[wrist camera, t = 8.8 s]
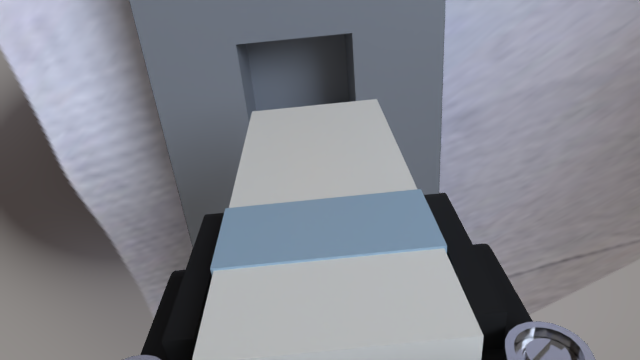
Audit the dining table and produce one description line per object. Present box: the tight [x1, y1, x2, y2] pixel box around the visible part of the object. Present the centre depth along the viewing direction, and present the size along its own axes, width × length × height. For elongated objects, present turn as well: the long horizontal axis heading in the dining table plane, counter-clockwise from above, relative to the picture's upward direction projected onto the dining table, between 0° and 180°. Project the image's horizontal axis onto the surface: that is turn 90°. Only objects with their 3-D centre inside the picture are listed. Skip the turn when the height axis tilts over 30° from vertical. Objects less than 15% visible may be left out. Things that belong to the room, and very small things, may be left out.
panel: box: [129, 0, 445, 247], centre depth 26 cm, size 14×28×4 cm, turn 5°
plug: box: [192, 99, 484, 360], centre depth 12 cm, size 4×4×11 cm
